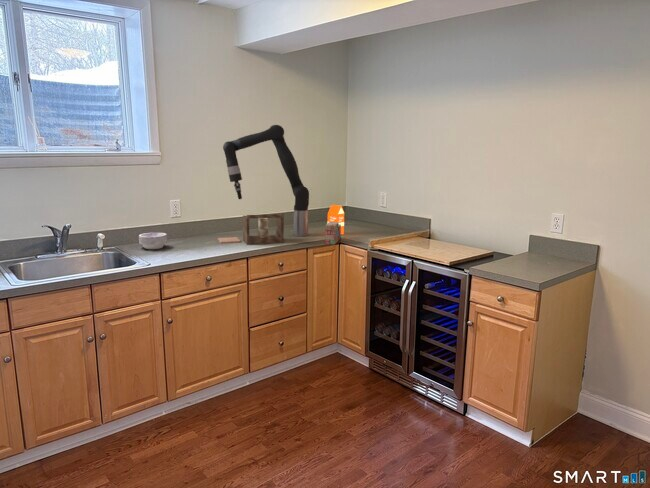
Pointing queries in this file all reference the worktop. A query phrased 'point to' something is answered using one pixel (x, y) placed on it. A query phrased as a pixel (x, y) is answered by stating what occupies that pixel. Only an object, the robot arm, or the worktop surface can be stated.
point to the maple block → (263, 227)
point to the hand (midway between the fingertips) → (240, 198)
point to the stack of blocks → (332, 232)
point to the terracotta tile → (229, 240)
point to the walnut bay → (271, 238)
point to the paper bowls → (153, 240)
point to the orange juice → (336, 216)
